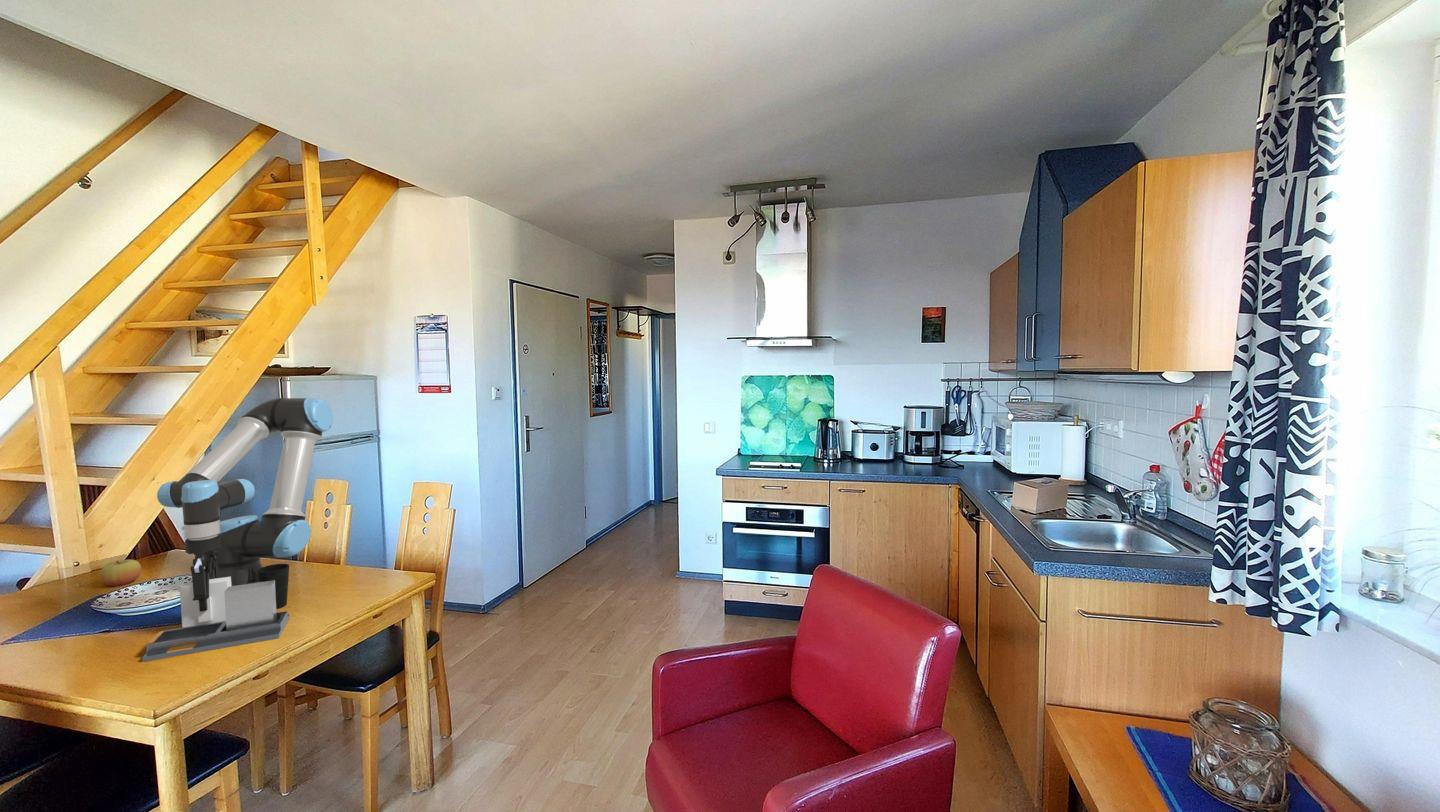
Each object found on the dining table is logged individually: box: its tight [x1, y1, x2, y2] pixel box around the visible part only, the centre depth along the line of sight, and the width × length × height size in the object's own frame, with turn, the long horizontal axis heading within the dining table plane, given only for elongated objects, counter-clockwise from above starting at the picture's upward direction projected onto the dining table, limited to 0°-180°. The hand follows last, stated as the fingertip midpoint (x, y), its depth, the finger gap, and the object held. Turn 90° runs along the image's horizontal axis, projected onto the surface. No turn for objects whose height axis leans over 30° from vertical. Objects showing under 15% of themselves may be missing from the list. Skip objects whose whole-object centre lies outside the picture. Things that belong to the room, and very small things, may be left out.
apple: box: [99, 559, 142, 587], centre depth 191 cm, size 10×10×8 cm
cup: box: [257, 563, 290, 610], centre depth 173 cm, size 8×8×12 cm
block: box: [179, 577, 231, 628], centre depth 160 cm, size 4×10×12 cm, turn 118°
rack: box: [141, 580, 290, 663], centre depth 152 cm, size 14×27×13 cm, turn 118°
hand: (208, 617), depth 161 cm, fingers closed on block, 4 cm apart
